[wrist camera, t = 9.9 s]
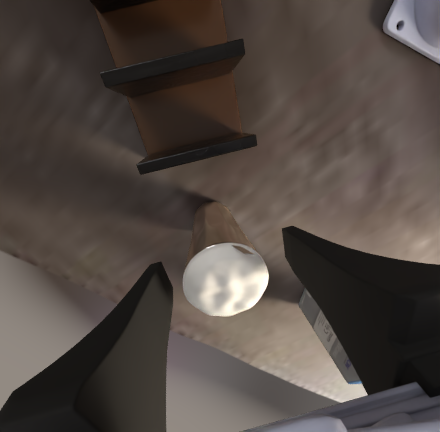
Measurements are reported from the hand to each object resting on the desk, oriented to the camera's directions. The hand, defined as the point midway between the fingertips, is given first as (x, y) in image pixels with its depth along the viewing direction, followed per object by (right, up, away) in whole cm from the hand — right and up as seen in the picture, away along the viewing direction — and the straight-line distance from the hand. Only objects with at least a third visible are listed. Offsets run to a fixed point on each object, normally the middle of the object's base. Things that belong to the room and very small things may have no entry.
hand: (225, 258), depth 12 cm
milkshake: (-1, +3, +6) cm, 7 cm away
